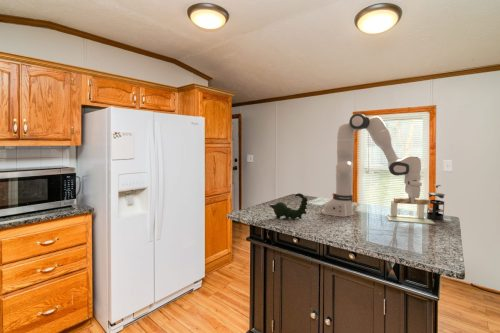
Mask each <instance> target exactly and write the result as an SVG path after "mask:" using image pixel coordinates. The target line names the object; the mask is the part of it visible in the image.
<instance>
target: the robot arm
mask: <svg viewBox="0 0 500 333" xmlns="http://www.w3.org/2000/svg"><path fill="white" fill-rule="evenodd" d="M337 130H338V132H337V137H336V139H337V140H336V141H337V142H336V160H337V161H336V166H335V181H336V182H335V193H334V192H332V195H331V196H332V199H330V200H329V201H327V202H326V203H325V206H324V208H323V209H321V214H323V215H326V216H327V215H328V216H335V217H343V218H346V217H350V216H351V217H352V216H354V215H355V213H354V208H353V203H354V196H353V186H354V185H353V184H354V183H353V182H354V181H353V180H354V178H353V176H354V174H353V173H354V148H355V147H354V144H355V133H356V132H358V131H361V130H366V131H368V134H369V136H370V137H371V139H372V141H373V143H374V144H375V145H376V146H377V147H379V149H380V150H381V151H382V152H383V154H384V156H385V158H386V160H387V162H388V163H387V164H388V168H387V169H388V170H389V172H390V174H392V175H393V176H395V177H396V176H399V177H400V176H404V178H403V179H404V180H403V181H404V185H405V188H404V192H405V194H407V197H408V198H411V201H410V202H411V203H414V200H415V199H420V197H421V196H420V195H421V187H422V181H421V180H422V179H421V177H422V176H421V171H422V161H421V159H420V158H419V157H418V156H414V155H407V156H405V157H403V158H401V159H400V158H399V157H398V155H397V154H396V152H395V150H394V147H393V144H392V137H391V134H390V130H389V129H388V127H387V125H386V124H385V122H384V120H383V119H382V118H381V117H379V116H371V117H370V118H369V117H368V116H366V115H365V114H363V113H354V114H353V115H351V116H350V118H349V121H348V123H343V124H341V125H339V127H338V129H337Z"/></svg>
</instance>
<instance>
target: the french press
mask: <svg viewBox="0 0 500 333" xmlns="http://www.w3.org/2000/svg"><path fill="white" fill-rule="evenodd" d="M433 186H434V187H435V188H436V189H435V190H436V192H428V197H429V198H431V197H435V199H429V200H430V205H431V204H432V207H429V205H427V211H426V219H427V220H432V221H434V222H435V221H436V222H442V220H443V221H444V217H445V216H444V214H445V213H444V212H445V201H443V200H439V199H444V198H445V196H446V194H444V193H441V192H438V188H439V187H442V185H441V184H433ZM437 197H439V199H437ZM442 205H443V206H442ZM440 206H442V209H441V208H440ZM429 211H430V212H429ZM441 212H442V213H441Z"/></svg>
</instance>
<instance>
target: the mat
mask: <svg viewBox="0 0 500 333" xmlns="http://www.w3.org/2000/svg"><path fill="white" fill-rule="evenodd" d="M386 219H387V220H388V221H389V222H397V223H398V222H399V223H400V222H401V223H412V224H427V225H436V223H435V221H434V220H430V219H427V218H426V219H415V218H401V217H389V216H386Z"/></svg>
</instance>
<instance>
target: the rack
mask: <svg viewBox="0 0 500 333" xmlns="http://www.w3.org/2000/svg"><path fill="white" fill-rule="evenodd" d="M425 206H426V205H422V204H416V215H408V214H398V203H394V200H391V202H390V213H388V217H400V218H413V219H427V217H426V216H425Z"/></svg>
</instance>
